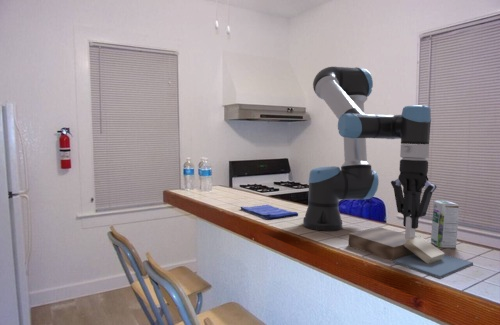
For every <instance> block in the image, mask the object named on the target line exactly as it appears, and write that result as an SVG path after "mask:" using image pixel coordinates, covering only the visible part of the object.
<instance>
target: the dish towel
mask: <svg viewBox="0 0 500 325" xmlns="http://www.w3.org/2000/svg"><path fill="white" fill-rule="evenodd" d="M240 211H242V212H246V213H249V214H251V215H253V216H255V217H258V218H262V219H264V220H276V219H283V218H291V217H292V218H293V217H298V216H299V213H298V212H296V211H290V210H286V209H283V208H279V207H275V206H272V205H270V204H263V205H262V204H261V205H254V206H240Z"/></svg>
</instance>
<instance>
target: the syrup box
mask: <svg viewBox="0 0 500 325" xmlns="http://www.w3.org/2000/svg"><path fill="white" fill-rule="evenodd" d="M459 215H460V204H458V203H455V202H452V201H449V200H434V201H433V208H432V221H431V222H432V223H431V231H430V232H431V234H430V235H431V236H430V243H431V244H432V245H434V246H435V247H437V248H445V249H446V248H448V249H451V248H452V249H453V248H454V249H456V248H457V241H458V240H457V239H458V227H459V217H460V216H459Z"/></svg>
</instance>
